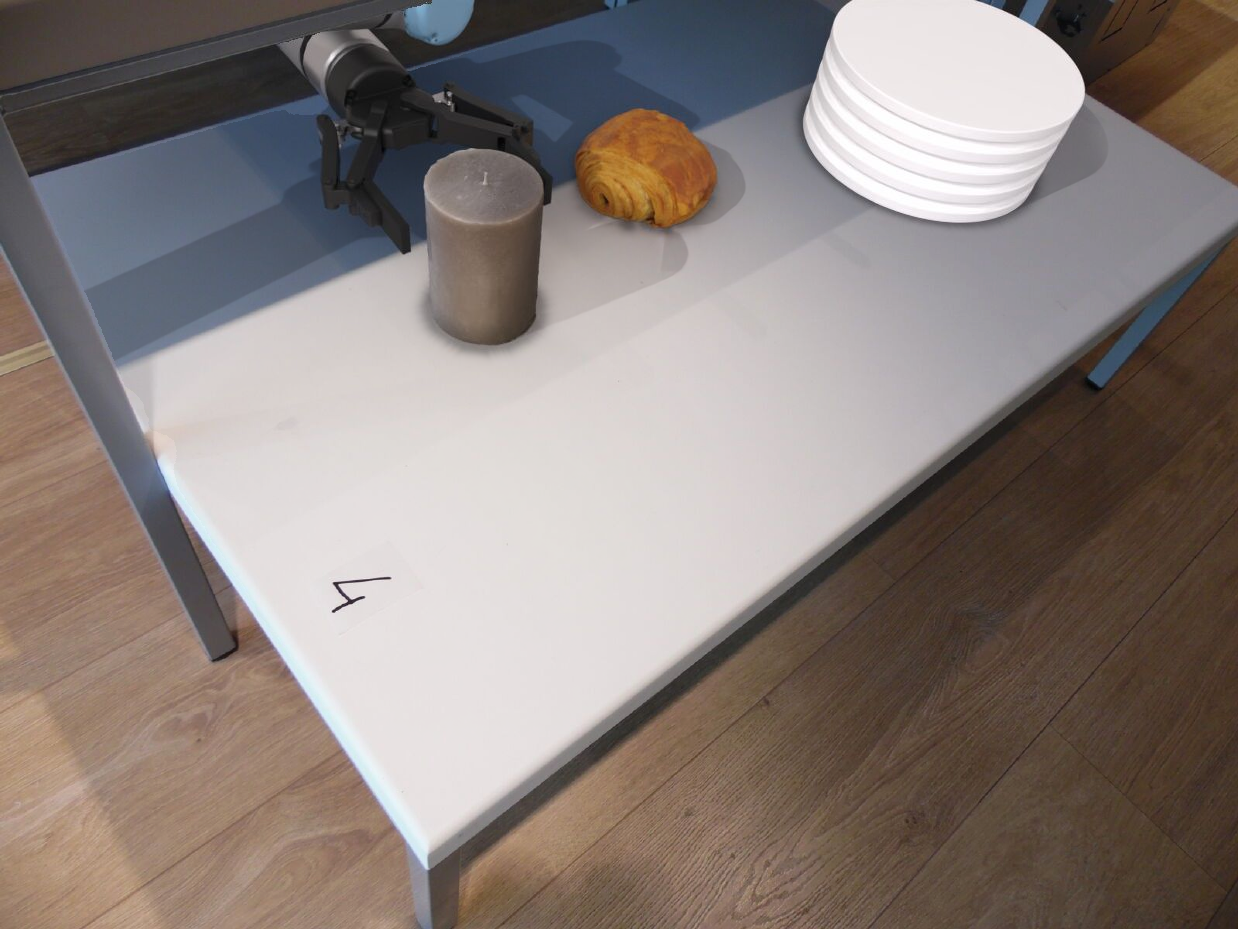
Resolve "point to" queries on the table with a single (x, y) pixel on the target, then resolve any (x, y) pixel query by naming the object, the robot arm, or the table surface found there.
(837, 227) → the table surface
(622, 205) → the croissant
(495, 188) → the pillar candle
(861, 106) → the plate stack
